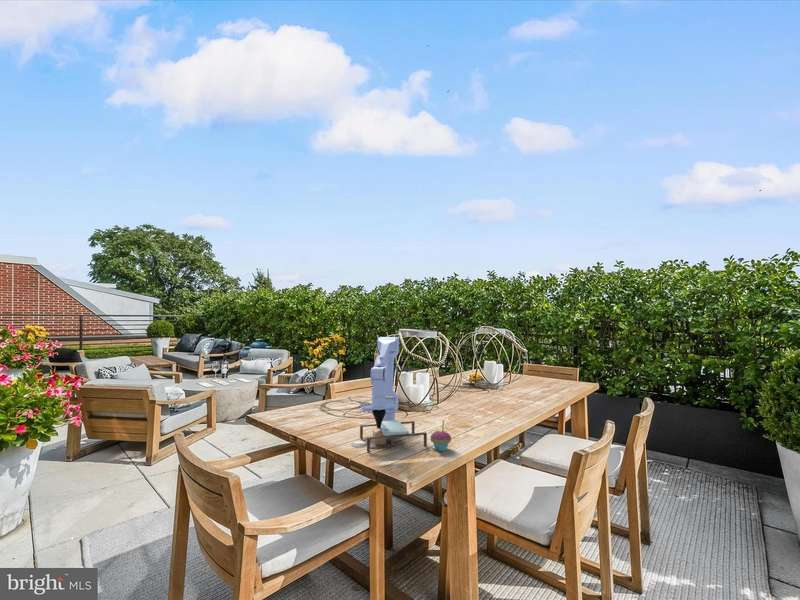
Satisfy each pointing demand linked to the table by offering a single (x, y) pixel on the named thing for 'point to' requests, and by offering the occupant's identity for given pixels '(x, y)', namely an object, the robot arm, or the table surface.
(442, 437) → the cupcake
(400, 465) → the table surface
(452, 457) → the table surface
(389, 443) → the puzzle board
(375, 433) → the block
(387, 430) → the slide cover
